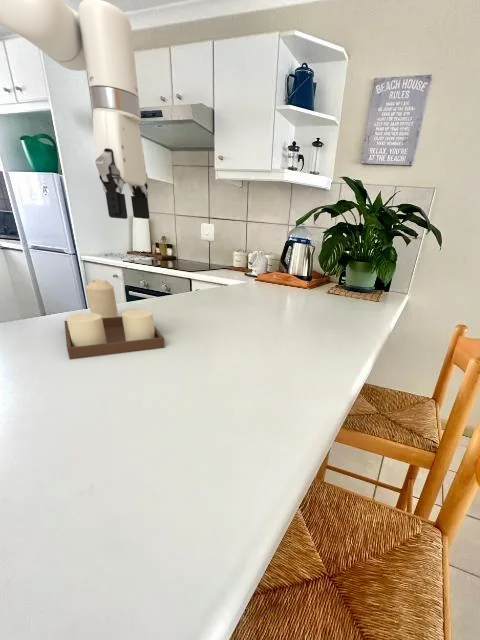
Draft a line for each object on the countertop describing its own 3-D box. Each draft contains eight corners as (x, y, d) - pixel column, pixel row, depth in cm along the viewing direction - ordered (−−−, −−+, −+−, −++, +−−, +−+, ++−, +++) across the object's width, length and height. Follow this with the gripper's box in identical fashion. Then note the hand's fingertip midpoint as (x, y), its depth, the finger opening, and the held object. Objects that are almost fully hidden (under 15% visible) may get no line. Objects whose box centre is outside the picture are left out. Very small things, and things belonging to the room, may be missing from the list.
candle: (89, 322, 77) (80, 278, 72) (112, 318, 81) (105, 277, 76) (99, 328, 74) (90, 283, 69) (123, 324, 78) (116, 281, 73)
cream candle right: (128, 348, 63) (124, 318, 60) (124, 339, 67) (119, 310, 64) (158, 344, 66) (155, 316, 63) (152, 336, 70) (149, 308, 67)
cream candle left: (74, 355, 58) (66, 322, 55) (73, 344, 62) (65, 314, 60) (109, 350, 61) (103, 320, 58) (105, 341, 65) (100, 312, 62)
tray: (70, 363, 57) (67, 348, 56) (67, 333, 69) (64, 320, 68) (165, 351, 65) (164, 338, 64) (147, 326, 78) (145, 314, 76)
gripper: (120, 119, 64) (132, 216, 72) (62, 88, 48) (86, 216, 56) (157, 123, 64) (165, 219, 72) (112, 92, 48) (129, 220, 56)
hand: (130, 218), depth 64 cm, fingers open, 9 cm apart
